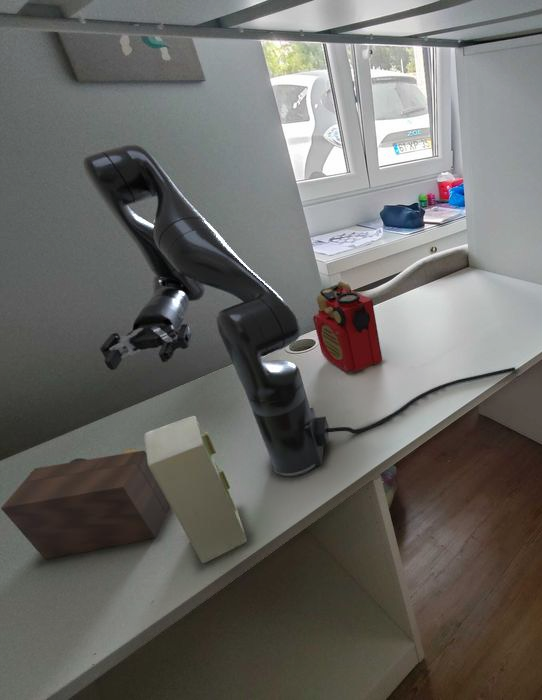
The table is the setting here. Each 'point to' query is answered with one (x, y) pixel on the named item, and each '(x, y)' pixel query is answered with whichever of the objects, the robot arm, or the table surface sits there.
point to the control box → (88, 505)
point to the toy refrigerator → (195, 487)
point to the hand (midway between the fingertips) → (136, 362)
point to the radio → (347, 328)
